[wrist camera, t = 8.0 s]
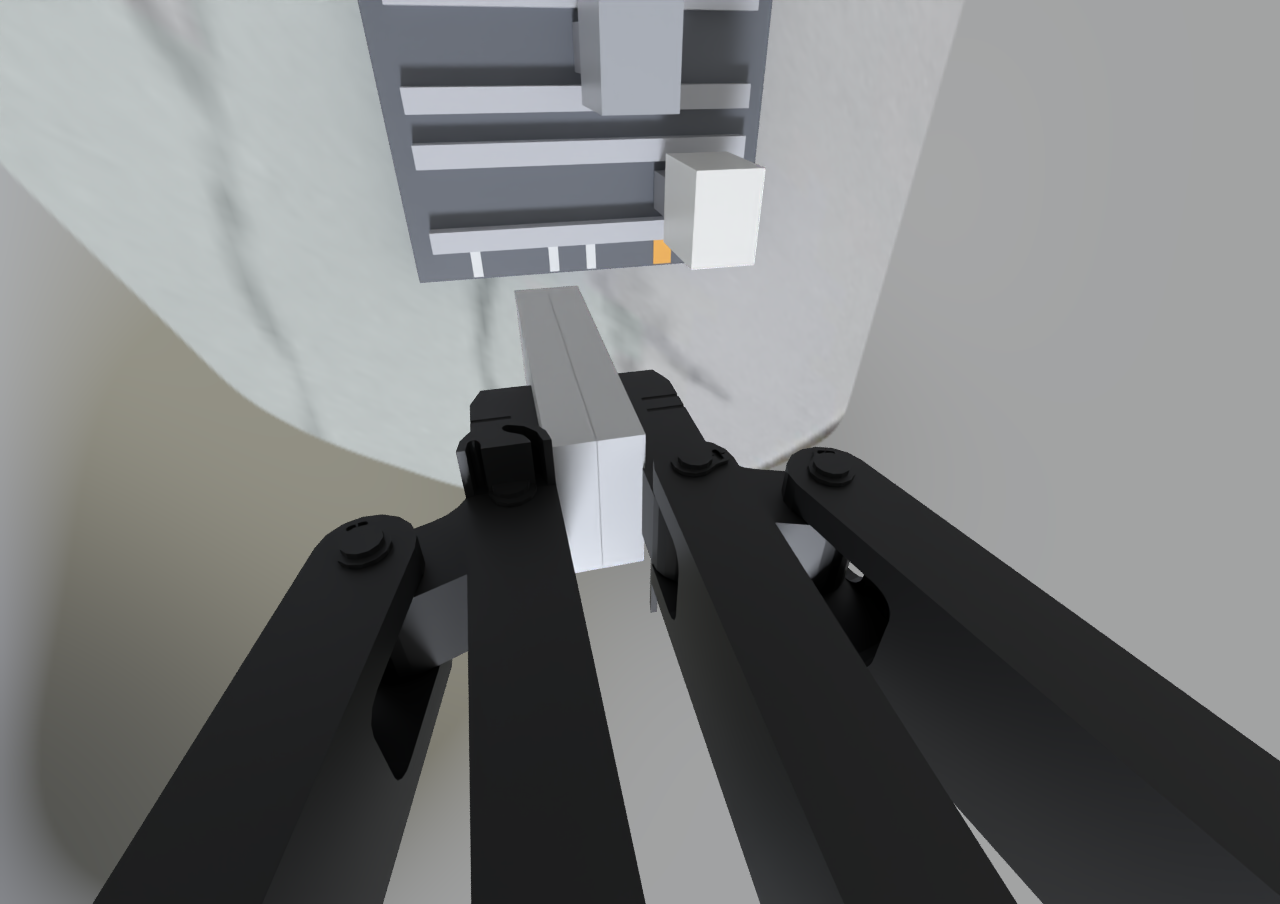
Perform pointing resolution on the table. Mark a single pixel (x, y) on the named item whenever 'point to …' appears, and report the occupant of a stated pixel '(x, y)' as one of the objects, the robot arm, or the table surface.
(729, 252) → the block
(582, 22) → the pale grey upright box
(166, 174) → the table surface
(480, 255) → the console
